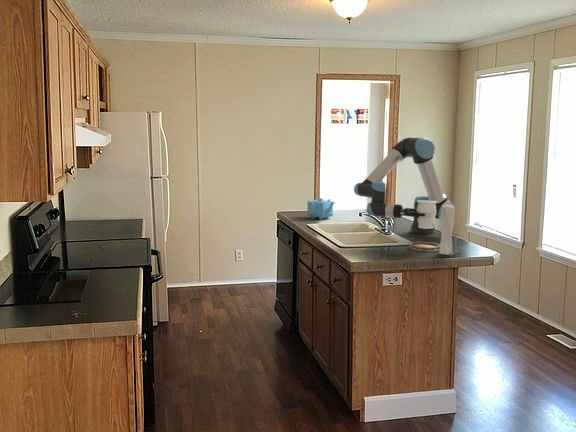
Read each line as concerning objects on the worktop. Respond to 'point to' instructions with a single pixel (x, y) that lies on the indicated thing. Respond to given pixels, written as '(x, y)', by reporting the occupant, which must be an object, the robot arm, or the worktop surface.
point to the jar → (426, 207)
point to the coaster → (424, 246)
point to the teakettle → (320, 208)
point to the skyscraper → (447, 230)
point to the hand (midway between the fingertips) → (433, 213)
